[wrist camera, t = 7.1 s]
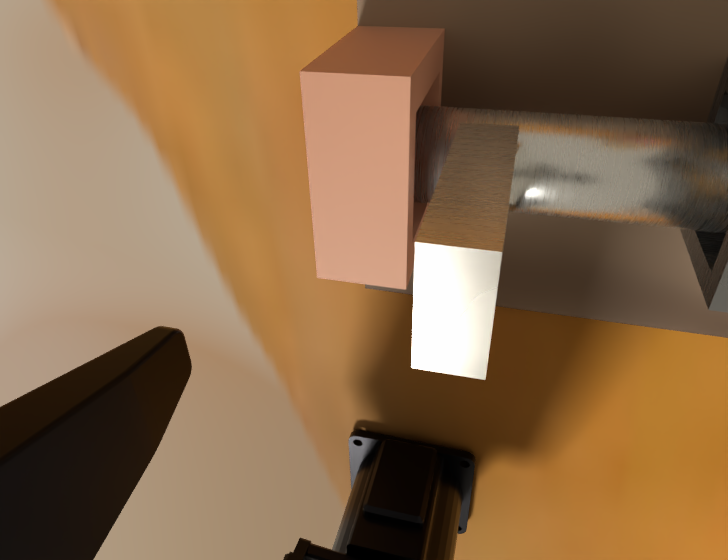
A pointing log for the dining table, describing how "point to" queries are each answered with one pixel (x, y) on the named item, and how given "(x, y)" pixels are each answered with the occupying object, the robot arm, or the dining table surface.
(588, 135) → the tube
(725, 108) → the sleeve
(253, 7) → the dining table surface
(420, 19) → the grey base plate
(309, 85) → the socket block
